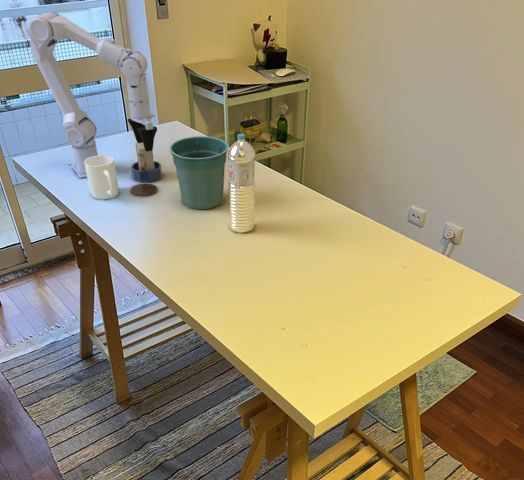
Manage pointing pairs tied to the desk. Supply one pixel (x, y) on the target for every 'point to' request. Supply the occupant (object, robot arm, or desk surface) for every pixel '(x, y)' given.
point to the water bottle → (241, 185)
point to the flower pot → (200, 170)
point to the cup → (101, 177)
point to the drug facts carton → (144, 158)
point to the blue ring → (146, 173)
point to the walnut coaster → (144, 189)
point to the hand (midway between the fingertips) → (144, 146)
